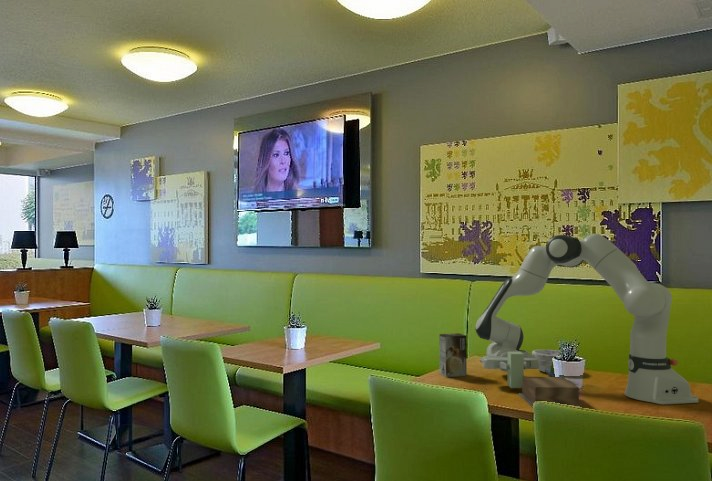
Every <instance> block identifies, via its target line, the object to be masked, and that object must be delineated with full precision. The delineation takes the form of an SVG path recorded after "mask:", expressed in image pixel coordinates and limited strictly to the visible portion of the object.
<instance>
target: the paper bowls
mask: <svg viewBox="0 0 712 481" xmlns="http://www.w3.org/2000/svg"><path fill="white" fill-rule="evenodd" d="M559 351H560V350H555V349H535V350H534V349H533V350H532V352H531V354H532V355H534V356H535V357H537V358H538V359H539V368H538V369H537V370H538V371H539V372H541V371H542V372H541V373H545V370H546V368H547V369H551V365H552V358H553V357H556V356H557V355H559ZM549 365H550V366H549ZM546 374H548V373H547V372H546Z"/></svg>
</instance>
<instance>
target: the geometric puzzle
mask: <svg viewBox="0 0 712 481" xmlns="http://www.w3.org/2000/svg"><path fill="white" fill-rule="evenodd" d="M549 366H550V365H549ZM545 372H547V373H546V374H547V375H548V377H555V374H554V368H553V363H552V365H551V369H547V368H546V370H545ZM545 372H544V373H545Z"/></svg>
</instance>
